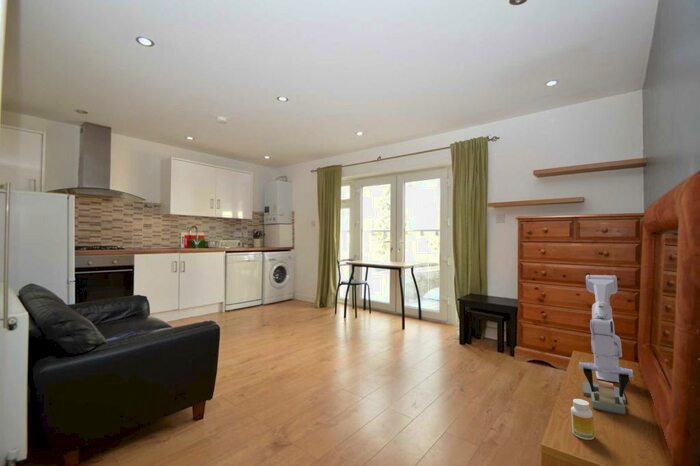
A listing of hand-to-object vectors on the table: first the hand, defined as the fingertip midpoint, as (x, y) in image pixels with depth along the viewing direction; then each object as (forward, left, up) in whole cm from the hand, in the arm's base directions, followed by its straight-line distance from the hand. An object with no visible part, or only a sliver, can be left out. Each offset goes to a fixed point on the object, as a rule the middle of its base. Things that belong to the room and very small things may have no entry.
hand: (606, 393), depth 110 cm
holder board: (-10, 0, -4) cm, 11 cm away
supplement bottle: (+24, -8, -5) cm, 25 cm away
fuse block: (0, 0, -4) cm, 4 cm away
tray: (0, 0, -4) cm, 4 cm away
